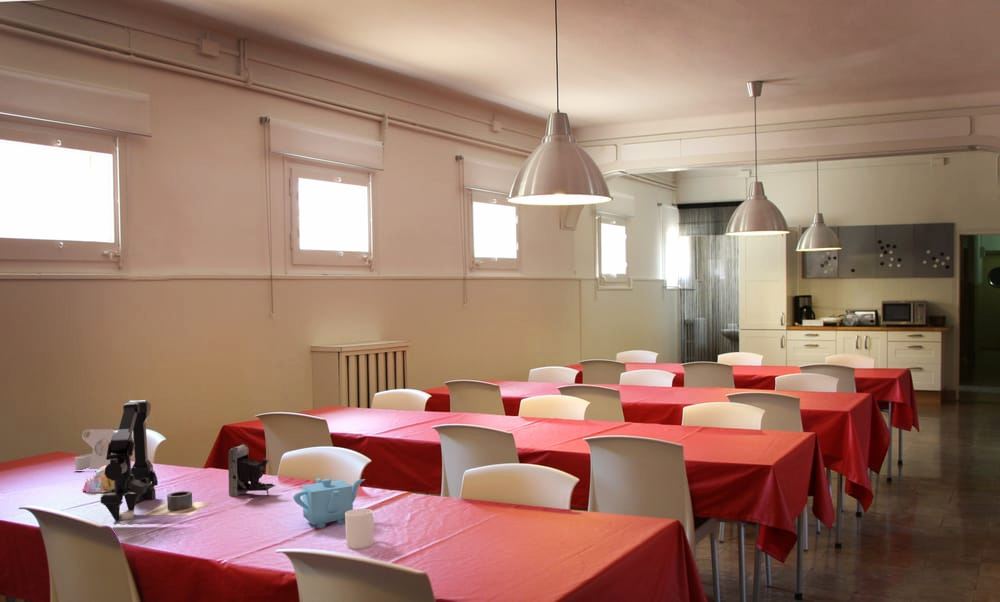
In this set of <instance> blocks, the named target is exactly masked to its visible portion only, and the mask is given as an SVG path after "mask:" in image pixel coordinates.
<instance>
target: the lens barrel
mask: <svg viewBox="0 0 1000 602" xmlns="http://www.w3.org/2000/svg"><path fill="white" fill-rule="evenodd" d="M166 501H167V502H166V503H167V504H168V510H170V511H179V510H185V509H189V508H191V507H192V502H193V492H192V491H189V490H188V491H187V490H184V491H183V490H182V491H175V492H171V493H168V494H167V495H166Z"/></svg>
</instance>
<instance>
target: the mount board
mask: <svg viewBox="0 0 1000 602" xmlns="http://www.w3.org/2000/svg"><path fill="white" fill-rule="evenodd" d="M212 503H213V501H192V507H191V508H189V509H185V510H179V511H170V510H168V504H167V502H166V503H163V504H162V505H159V506H157V507H156V508H153V509H151V510H150V511H148V512H146V513H144V514H143V516H191V515H193V514H195V513H197V512H198V511H200V510H201V509H203V508H206V507H207V506H209V505H211V504H212Z"/></svg>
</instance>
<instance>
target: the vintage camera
mask: <svg viewBox="0 0 1000 602" xmlns="http://www.w3.org/2000/svg"><path fill="white" fill-rule="evenodd" d="M261 461H262V462H259V461H256V460H254V459H249V447H248V445H247V444H246V443H241V445H239V446H232V447H231V448H230V449H229V450H228V495H229V497H238V496H239V495H245V494H247V493H248V492H257V491H259V492H261V491H265V492H266V494H267V497H270V496H269V490H270V489H271V488H274V487H275V486H276V484H273V483H262V482H261V481H260V479H261V478H262V477H263V475H264V473H265V469H266V468H265V467H264V466H266V465H267V466H268V462H269V460H268V459H267V458H262V459H261Z"/></svg>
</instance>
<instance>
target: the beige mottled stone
mask: <svg viewBox="0 0 1000 602" xmlns="http://www.w3.org/2000/svg"><path fill="white" fill-rule="evenodd" d="M133 518H135V510H134V511H133V510H128V509H126V510H120V511H119V522H121V521H125V520H130V519H133Z"/></svg>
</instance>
